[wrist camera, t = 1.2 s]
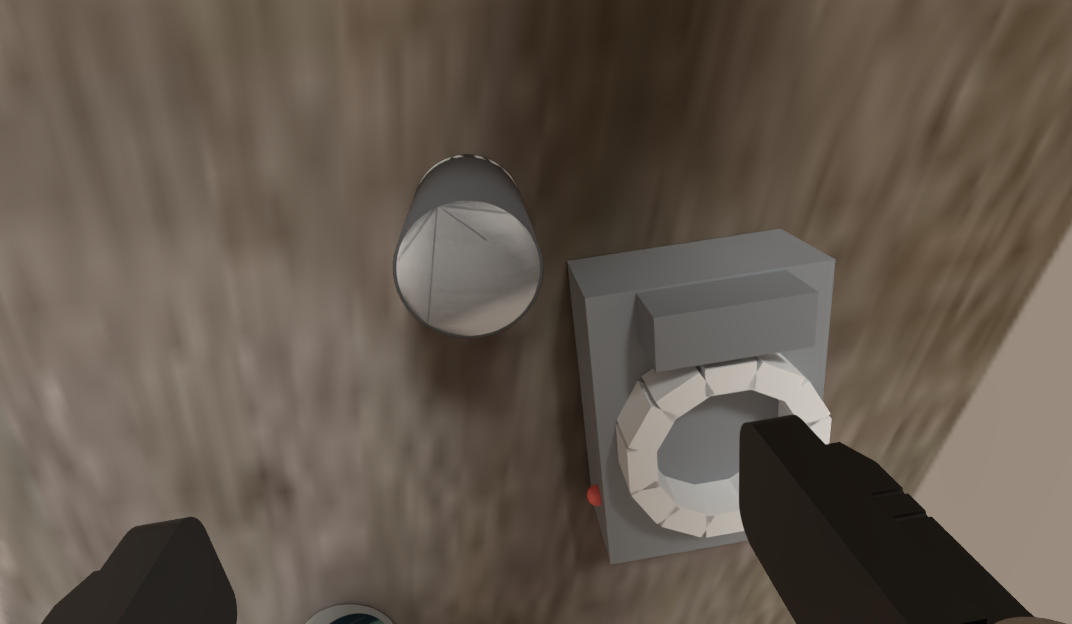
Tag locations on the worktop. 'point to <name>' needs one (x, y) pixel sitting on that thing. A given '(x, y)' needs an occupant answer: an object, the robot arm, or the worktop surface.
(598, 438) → the camera body
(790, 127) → the worktop surface
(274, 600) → the worktop surface
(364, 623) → the lotion bottle
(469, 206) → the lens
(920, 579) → the robot arm
